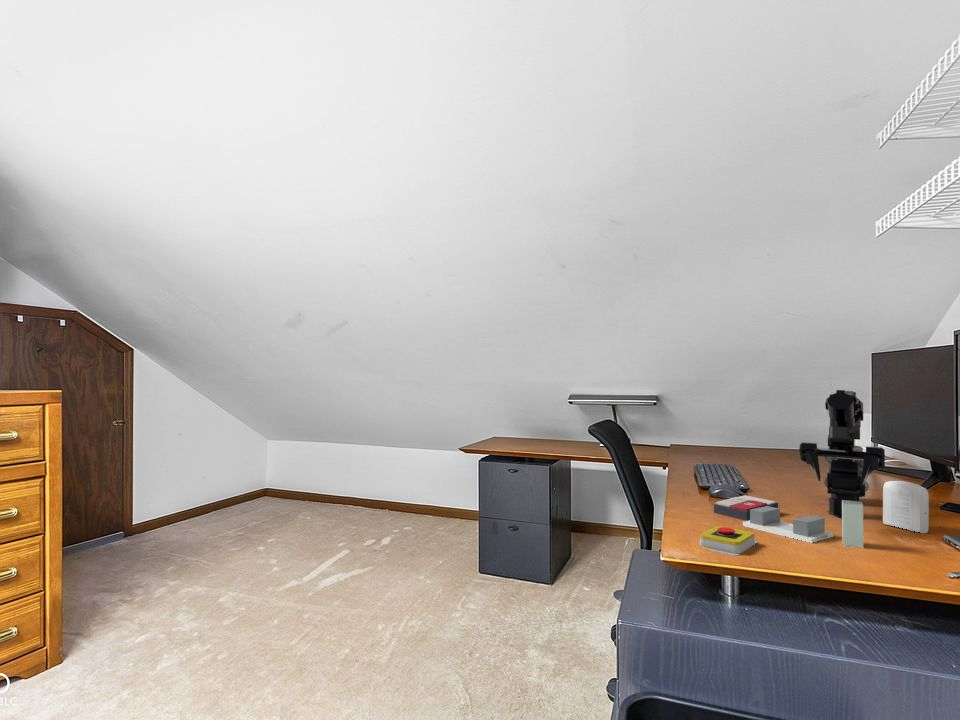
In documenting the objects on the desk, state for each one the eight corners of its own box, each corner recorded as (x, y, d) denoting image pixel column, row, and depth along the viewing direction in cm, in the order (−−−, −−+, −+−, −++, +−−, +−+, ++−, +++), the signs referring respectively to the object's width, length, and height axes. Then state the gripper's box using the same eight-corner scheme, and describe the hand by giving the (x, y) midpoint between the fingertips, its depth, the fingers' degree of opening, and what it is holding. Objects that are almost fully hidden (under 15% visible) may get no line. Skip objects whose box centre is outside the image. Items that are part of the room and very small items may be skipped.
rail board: (742, 525, 152) (742, 508, 152) (764, 520, 157) (764, 504, 157) (811, 543, 136) (811, 524, 136) (833, 537, 142) (832, 518, 142)
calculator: (712, 501, 166) (744, 493, 174) (713, 515, 166) (744, 507, 174) (747, 509, 157) (778, 500, 165) (747, 524, 157) (779, 515, 165)
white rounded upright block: (932, 532, 146) (931, 484, 147) (922, 534, 145) (921, 485, 145) (889, 522, 156) (889, 477, 156) (880, 524, 154) (879, 478, 154)
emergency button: (695, 530, 133) (720, 519, 144) (695, 549, 133) (720, 536, 143) (736, 538, 126) (759, 525, 137) (736, 558, 126) (759, 544, 137)
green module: (842, 541, 138) (841, 500, 139) (862, 543, 136) (861, 502, 137) (843, 545, 135) (842, 503, 135) (863, 548, 133) (863, 505, 133)
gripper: (799, 412, 153) (795, 460, 144) (884, 415, 142) (885, 468, 134) (803, 436, 160) (799, 484, 151) (884, 441, 149) (885, 493, 140)
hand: (840, 482), depth 144 cm, fingers open, 9 cm apart
